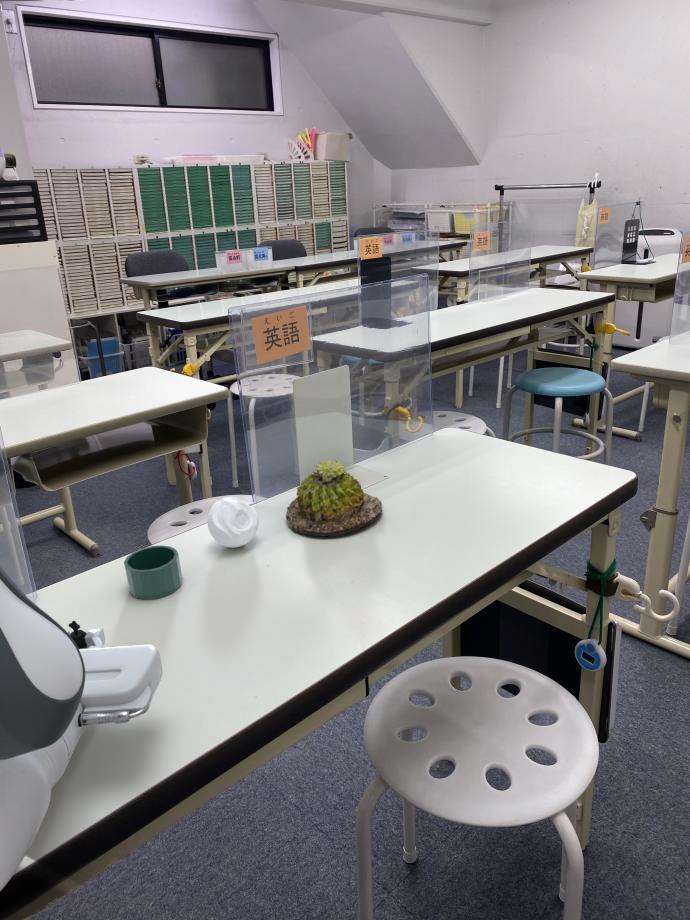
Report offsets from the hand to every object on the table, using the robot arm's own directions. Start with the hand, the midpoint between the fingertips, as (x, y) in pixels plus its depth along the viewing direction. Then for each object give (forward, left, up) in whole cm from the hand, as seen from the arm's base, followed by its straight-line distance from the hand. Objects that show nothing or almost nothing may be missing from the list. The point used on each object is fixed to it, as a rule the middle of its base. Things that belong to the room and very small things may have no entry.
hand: (80, 635), depth 75 cm
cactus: (+28, +41, -8) cm, 50 cm away
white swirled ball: (+12, +33, -8) cm, 36 cm away
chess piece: (0, -1, -8) cm, 8 cm away
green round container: (+2, +22, -8) cm, 23 cm away
